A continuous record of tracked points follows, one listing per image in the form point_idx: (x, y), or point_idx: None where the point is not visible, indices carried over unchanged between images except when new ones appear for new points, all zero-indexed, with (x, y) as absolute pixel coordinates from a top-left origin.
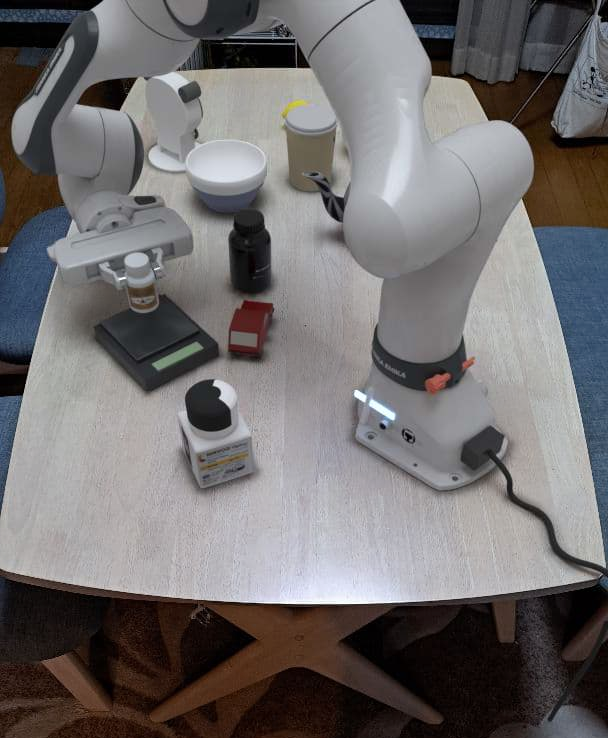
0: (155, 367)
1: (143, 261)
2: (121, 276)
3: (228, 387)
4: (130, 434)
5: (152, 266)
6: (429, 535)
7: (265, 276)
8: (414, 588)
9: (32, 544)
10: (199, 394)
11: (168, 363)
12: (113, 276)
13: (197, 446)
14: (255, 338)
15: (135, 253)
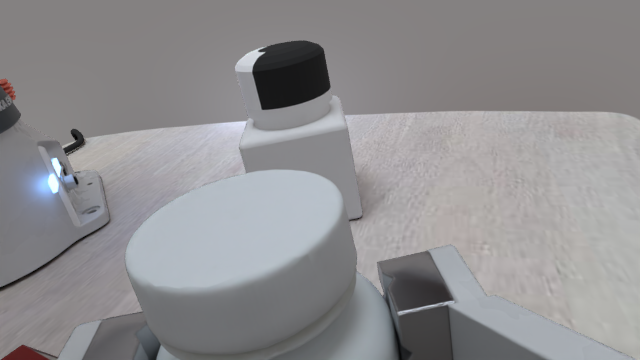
0: None
1: (195, 204)
2: (407, 269)
3: (242, 58)
4: (466, 250)
5: (139, 343)
6: (152, 151)
7: None
8: (203, 126)
9: (606, 127)
10: (294, 44)
11: None
12: (476, 281)
13: (332, 96)
14: (44, 354)
15: (197, 276)
